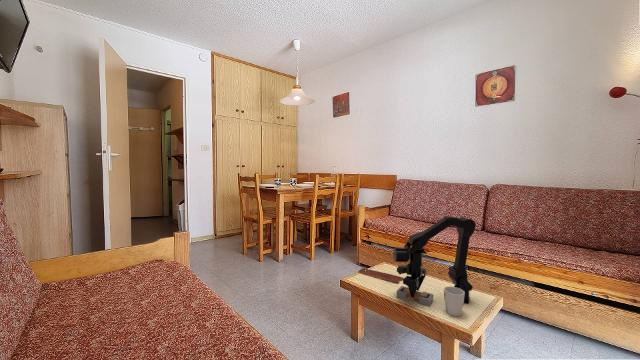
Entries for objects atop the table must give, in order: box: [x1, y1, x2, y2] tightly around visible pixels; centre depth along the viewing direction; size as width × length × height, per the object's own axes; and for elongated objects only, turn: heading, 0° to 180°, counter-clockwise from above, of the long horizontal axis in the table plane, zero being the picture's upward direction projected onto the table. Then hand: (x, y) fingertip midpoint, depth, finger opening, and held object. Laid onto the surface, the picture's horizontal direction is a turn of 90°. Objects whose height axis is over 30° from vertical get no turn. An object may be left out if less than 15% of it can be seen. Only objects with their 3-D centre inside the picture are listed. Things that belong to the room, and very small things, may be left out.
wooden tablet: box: [357, 267, 405, 285], centre depth 157 cm, size 27×10×2 cm, turn 52°
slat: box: [403, 288, 428, 302], centre depth 129 cm, size 11×4×4 cm, turn 59°
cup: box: [443, 286, 465, 317], centre depth 116 cm, size 8×8×10 cm
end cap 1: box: [395, 285, 409, 301], centre depth 132 cm, size 5×7×3 cm, turn 144°
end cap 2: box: [418, 291, 434, 307], centre depth 126 cm, size 5×7×3 cm, turn 144°
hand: (414, 293), depth 129 cm, fingers open, 8 cm apart
